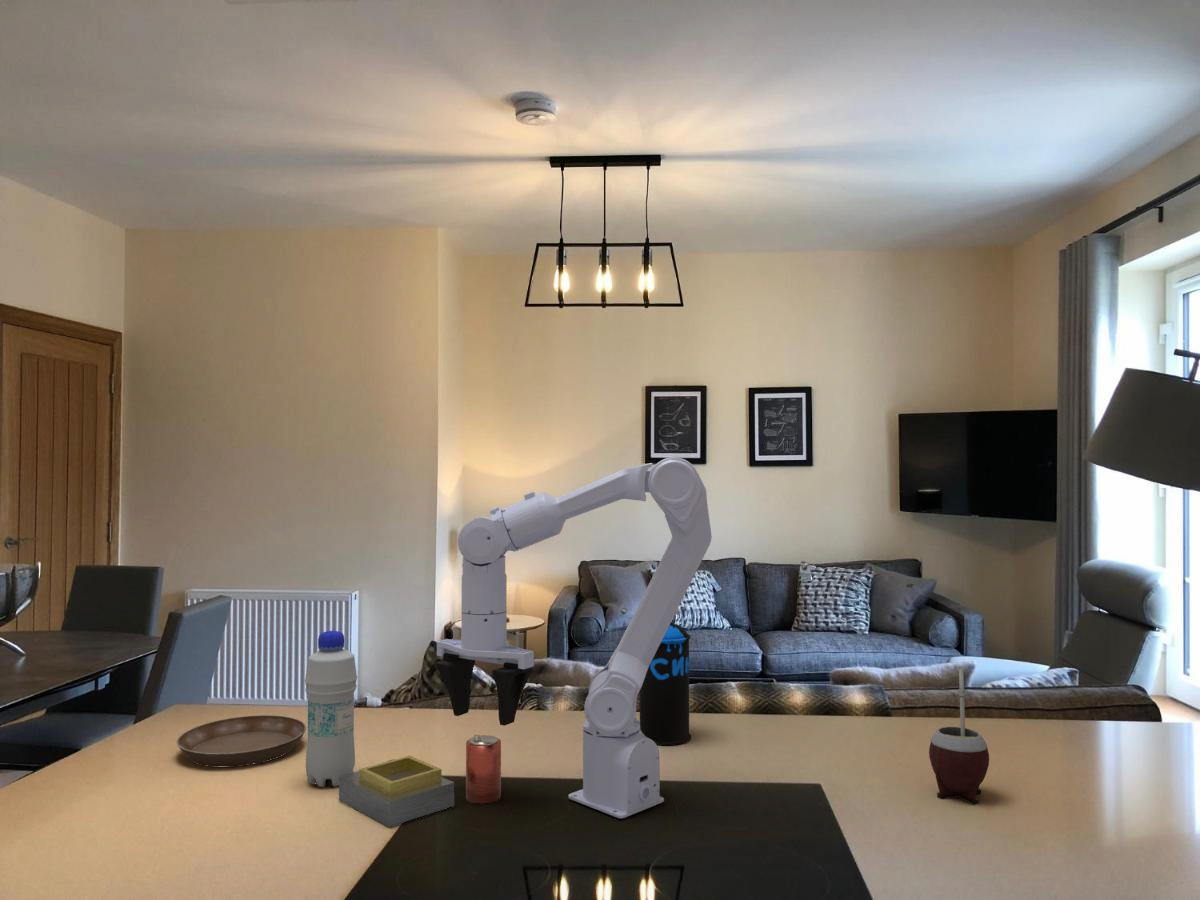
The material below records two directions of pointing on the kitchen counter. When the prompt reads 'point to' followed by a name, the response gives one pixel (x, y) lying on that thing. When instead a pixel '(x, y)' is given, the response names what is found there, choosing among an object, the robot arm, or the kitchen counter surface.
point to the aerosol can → (667, 691)
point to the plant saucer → (241, 740)
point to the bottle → (330, 710)
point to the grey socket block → (397, 790)
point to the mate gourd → (959, 757)
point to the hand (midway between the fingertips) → (483, 718)
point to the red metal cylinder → (483, 769)
